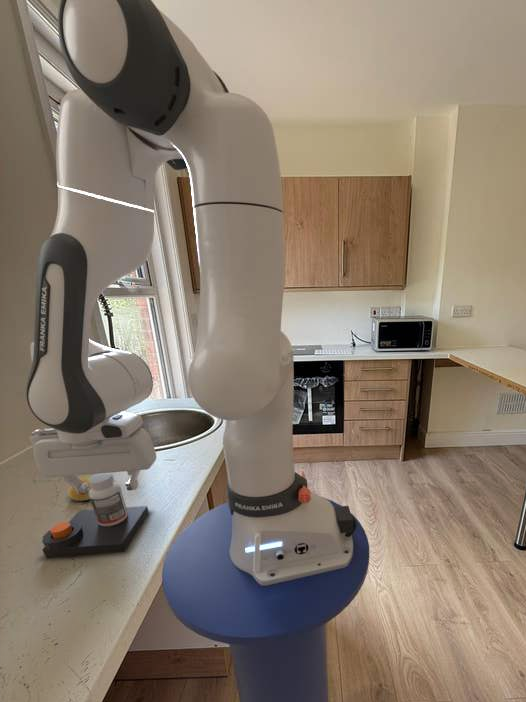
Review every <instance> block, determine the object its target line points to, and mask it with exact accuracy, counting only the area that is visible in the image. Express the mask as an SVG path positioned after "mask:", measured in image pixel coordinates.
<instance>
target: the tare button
mask: <svg viewBox="0 0 526 702" xmlns="http://www.w3.org/2000/svg"><path fill="white" fill-rule="evenodd" d="M68 522H69V521H65V522H64V521H63V522H60V523H57V524H55V525H53V526H52V527H51V528H50V529H49V530H50V531H51V534H52V536H53V538H54V539H59V538H62V537H65V536H67V535H69V534H70V533H71V532H72V528H71V525H70V523H68Z"/></svg>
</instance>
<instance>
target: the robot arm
mask: <svg viewBox="0 0 526 702" xmlns="http://www.w3.org/2000/svg"><path fill="white" fill-rule="evenodd" d="M57 32H58V33H57V34H58V41H59V46H60V50H61V54H62V57H63V59H64V63H65V64H66V67H67V69H68V71H69V73H70V76H71V77H72V79H73V80H74V82H75V83H76V85H77V86H78V87H79V88H76V89H71V90H70V91H68V92H67V93H65V94H64V96H63V97H62V98H61V101H60V104H59V111H58V118H57V128H56V131H57V132H56V143H55V144H56V146H55V147H56V149H55V162H56V163H55V164H56V166H55V167H56V168H55V169H56V185H57V210H56V211H57V212H56V218H55V222H54V226H53V229H52V232H51V235H50V236H49V237H48V238H47V239H46V240H44V242H43V243H42V246H41V248H40V252H39V255H38V260H37V266H36V268H37V269H36V281H35V302H34V303H35V305H34V308H35V309H34V335H33V336H34V337H33V341H32V342H31V343H30V347H29V349H30V358H31V368H30V371H29V375H28V378H27V381H26V382H27V383H26V390H25V391H26V392H25V394H26V395H25V396H26V401H27V405H28V408H29V410H30V411H31V413H32V414H33V415H34V417H35V418H36V419H37V420H38V421H39V422H41V423H43V424H44V425H46V426H47V427H49V428H37V429H35V430H34V431H32V432H31V433H30V435H29V442H30V444H31V446H32V449H33V456H34V459H35V460H34V461H35V464H36V467H37V470H38V473H39V474H40V475H42V476H43V478H46V479H49V478H60V477H61V478H62V477H63V480H64V482H65V483H67V484H68V485H69V486H70V487H71V486H72V487H73V488H75V491H76V493H77V495H81V494H87V492H89V487H88V483H83V482H82V481H81V480H80V478H79V477H78V476H86V475H97V474H100V473H111V474H112V473H122V472H127V475H128V476H131V477H130V478H128V479H127V481H126V482H125V483H124V485H125V487H126V490H127V491H136V490H137V489H138V487H139V482H138V477H139V474H140V472H141V471H146V470H149V469H150V468H151V467H152V466H154V464H155V462H156V461H157V452H156V449H155V446H154V443H153V440H152V438H151V436H150V434H149V432H148V431H147V430H146V429H145V428H143V427H141V426H142V425H143V422H144V421H143V418H142V416H141V414H137V413H132V412H127V410H128V409H130V408H132V407H134V406H137V405H138V404H140V403H142V402H143V401H145V400H146V399H148V398H149V397H150V396H151V394H152V392H153V388H154V380H153V379H154V378H153V375H152V371H151V369H150V367H149V366H148V365H147V363H146V362H145V361H144V359H143V358H141V357H140V356H139V355H137V354H136V353H134V352H132V351H129V350H121V349H116V348H112V347H109V346H106V345H104V344H100V343H98V342H95V341H93V340H92V339H90V338H91V327H92V325H91V324H92V314H93V310H94V305H95V304H96V301H97V300H98V298H99V297H100V296H101V295H102V293H104V291H105V290H106V289H107V288H109V287H111V285H113V284H114V283H116V282H117V281H118V280H121V279H122V278H124V277H127V276H128V275H130V274H132V273H134V272H136V271H137V270H139V269H140V268H141V267H142V266H143V265H145V263H146V262H147V261H148V260H149V258H150V255H151V252H152V248H153V244H154V236H155V213H154V212H155V180H156V175H157V173H158V170H159V168H160V167H161V166H162V165H164V164H165V163H166V164H167V165H169V166H170V168H172V169H173V170H175V171H181V170H186V169H187V170H188V174H189V180H190V187H191V188H190V189H191V199H192V208H193V218H194V219H193V220H194V227H195V235H196V237H195V238H196V246H197V256H198V265H199V277H200V278H199V279H200V283H199V284H200V285H199V286H200V287H199V288H200V289H199V308H198V317H197V318H198V321H197V332H196V333H197V334H196V345H195V351H194V354H193V357H192V360H191V362H190V364H189V368H188V372H187V373H188V374H187V382H188V383H187V384H188V387H189V391H190V394H191V396H192V398H193V400H194V401H195V402H196V404H197V405H198V406H199V407H200V408H201V409H202V410H203V411H204V412H206V413H207V414H208V415H210V416H212V417H214V418H217V419H219V420H222V421H225V426H224V427H225V428H224V432H223V434H222V435H223V436H222V447H223V453H224V454H223V455H224V460H225V461H224V462H225V468H226V475H227V483H226V498H227V502H228V505H229V508H230V512H231V515H232V521H233V525H232V541H231V546H230V558H231V560H232V562H233V563H234V565H235V566H237V567H238V568H239V569H241V570H242V571H245V572H247V573H249V574H251V575H252V576H253V577H254V579H255V580H256V581H257V582H258V583H259V584H260V585H263V586H267V585H272V584H276V583H280V582H285V581H289V580H293V579H298V578H302V577H306V576H311V575H315V574H319V573H324V572H328V571H332V570H337V569H341V568H344V567H347V566H348V565H349V563H350V561H351V559H352V556H353V540H352V534H353V533H354V531H355V530H356V527H357V522H356V520H355V519H354V517H353V516H352V515H351V514H352V512H351V510H350V506H349V505H341V506H339V507H335V509H334V507H333V505H332V504H331V503H330V502H329V501H328V500H327V499H328V498H326V497H324V498H323V496H321V495H318V494H316V493H314V492H312V491H311V489H309V488H308V487H309V486H308V479H307V478H306V474H305V472H304V471H303V470H302V471H301V474H299V473H298V472H296V470H295V455H294V439H293V429H294V428H293V423H294V397H295V396H294V395H295V393H294V392H295V391H294V390H295V389H294V388H295V387H294V386H295V384H294V383H295V381H294V380H295V379H294V378H295V376H294V375H295V371H294V369H295V368H294V363H295V362H294V350H293V345H292V343H291V341H290V339H289V338H288V336H287V335H286V334H285V333H284V332H283V331H282V317H283V314H282V313H283V305H284V304H283V303H284V294H285V293H284V292H285V286H286V255H285V254H286V251H285V221H284V220H285V217H284V215H285V214H284V194H283V183H282V174H281V165H280V159H279V154H278V147H277V142H276V137H275V134H274V133H275V132H274V127H273V124H272V122H271V120H270V118H269V117H268V114H267V113H266V111H265V110H264V109H263V108H262V106H260V105H259V104H258V103H257V102H256V101H254V100H251V99H250V98H249V97H246V96H244V95H242V94H239V93H234V92H230V91H229V89H228V88H227V86H226V84H225V82H224V81H223V79H222V78H221V76H219V75H218V74H217V72H215V70H213V68H212V67H211V66H210V64H209V63H208V61H207V60H206V59H205V58H204V57H203V55H202V54H201V53H200V51H198V49H197V47H196V45H195V44H194V43H193V41H192V40H191V39H190V38H189V37H188V36H187V35H186V34H185V32H184V31H183V30H182V29H181V28H180V27H179V26H178V25H177V24H176V23H174V22H173V20H172V19H170V18H169V17H168V16H166V14H165V13H163V12H162V11H161V10H160V9H159V8H158V7H157V6H156V5H155V3H154V2H153V0H60V1H59V7H58V13H57ZM325 498H326V499H325ZM272 576H273V577H272Z"/></svg>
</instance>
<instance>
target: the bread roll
mask: <svg viewBox="0 0 526 702" xmlns="http://www.w3.org/2000/svg"><path fill="white" fill-rule="evenodd" d="M90 478H91V477H80V478H79V479H80V480H81V481H82V482H83V483H88V487H89V491H90V489H91V487H90V485H89V479H90ZM67 496H68V498H69V499H70V500H71V501H72V500H73V501H76V502H84V501H85V502H86V501H88V500H90V498H89V492H87V494H81V495H77V493H76V491H75V488H73V487H72V486H71V485H70V487H69V489H68V490H67Z"/></svg>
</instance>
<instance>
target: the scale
mask: <svg viewBox="0 0 526 702" xmlns="http://www.w3.org/2000/svg"><path fill="white" fill-rule="evenodd" d="M126 508H127V512H128V515H127V517H126V519H125V520H123V521H122V522H120V523H118V524H116V525H113V526H101V525H99V523H98V521H97V518H96V515H95V512H94V509H93V508H92V509H81V510H78V511H77V513H76V514H74V516H73V517H71V518H70V520H69V521H67V522H68V523H70V525H71V528H72V532H71V533H70V534H69V535H67V536H65V537H62V538H59V539H54V538H53V536H52V534H51V531H50V530H51V529H49V530H48V531H47V532H45V534H43V536H42V543H43V545H44V546H43V548H42V551H43V554H44V557H45V558H56V557H71V556H73V557H74V556H86V555H99V554H112V553H113V554H114V553H125V552H126V550H127V549H128V547H129V545H130V544H131V542H132V541H133V539H134V538H135V536H136V535H137V533H138V531H139V530H140V529H141V527H142V526H143V524H144V523H145V520H146V519H147V517H148V516H149V514H150V512H149V507H148V506H147V505H143V506H142V505H141V506H126Z"/></svg>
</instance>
